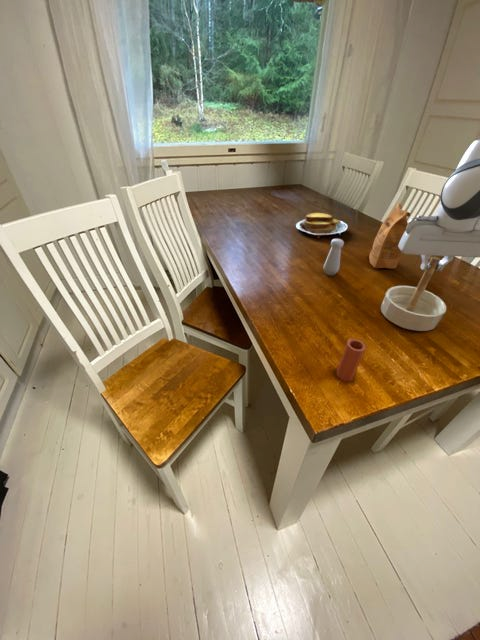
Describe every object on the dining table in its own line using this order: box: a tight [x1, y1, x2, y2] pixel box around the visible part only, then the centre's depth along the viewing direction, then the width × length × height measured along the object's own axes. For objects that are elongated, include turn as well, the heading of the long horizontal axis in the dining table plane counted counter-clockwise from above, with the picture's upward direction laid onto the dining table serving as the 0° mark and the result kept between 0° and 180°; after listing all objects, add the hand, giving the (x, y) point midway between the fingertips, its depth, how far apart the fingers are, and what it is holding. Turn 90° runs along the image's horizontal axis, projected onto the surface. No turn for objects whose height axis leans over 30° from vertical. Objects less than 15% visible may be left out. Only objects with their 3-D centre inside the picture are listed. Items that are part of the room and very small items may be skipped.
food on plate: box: [295, 212, 349, 239], centre depth 136 cm, size 25×25×7 cm
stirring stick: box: [406, 256, 441, 312], centre depth 77 cm, size 2×2×18 cm
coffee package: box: [368, 203, 411, 270], centre depth 103 cm, size 10×12×22 cm
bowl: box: [380, 285, 447, 332], centre depth 81 cm, size 16×16×6 cm
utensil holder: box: [336, 338, 367, 382], centre depth 62 cm, size 4×4×10 cm
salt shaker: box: [323, 238, 345, 276], centre depth 99 cm, size 6×6×13 cm
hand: (430, 269), depth 73 cm, fingers closed on stirring stick, 2 cm apart
